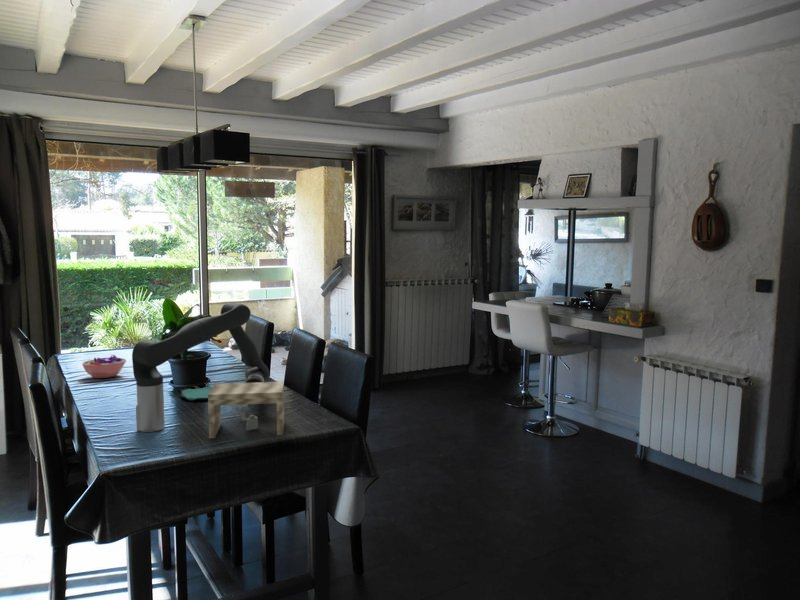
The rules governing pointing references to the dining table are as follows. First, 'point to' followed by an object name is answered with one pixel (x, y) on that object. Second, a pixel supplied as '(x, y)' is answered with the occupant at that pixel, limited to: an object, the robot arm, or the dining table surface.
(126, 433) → the dining table surface
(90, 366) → the cell model
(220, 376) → the dining table surface
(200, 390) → the teal flat tray
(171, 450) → the dining table surface
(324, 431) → the dining table surface
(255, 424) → the lighter
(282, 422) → the small wooden stool
